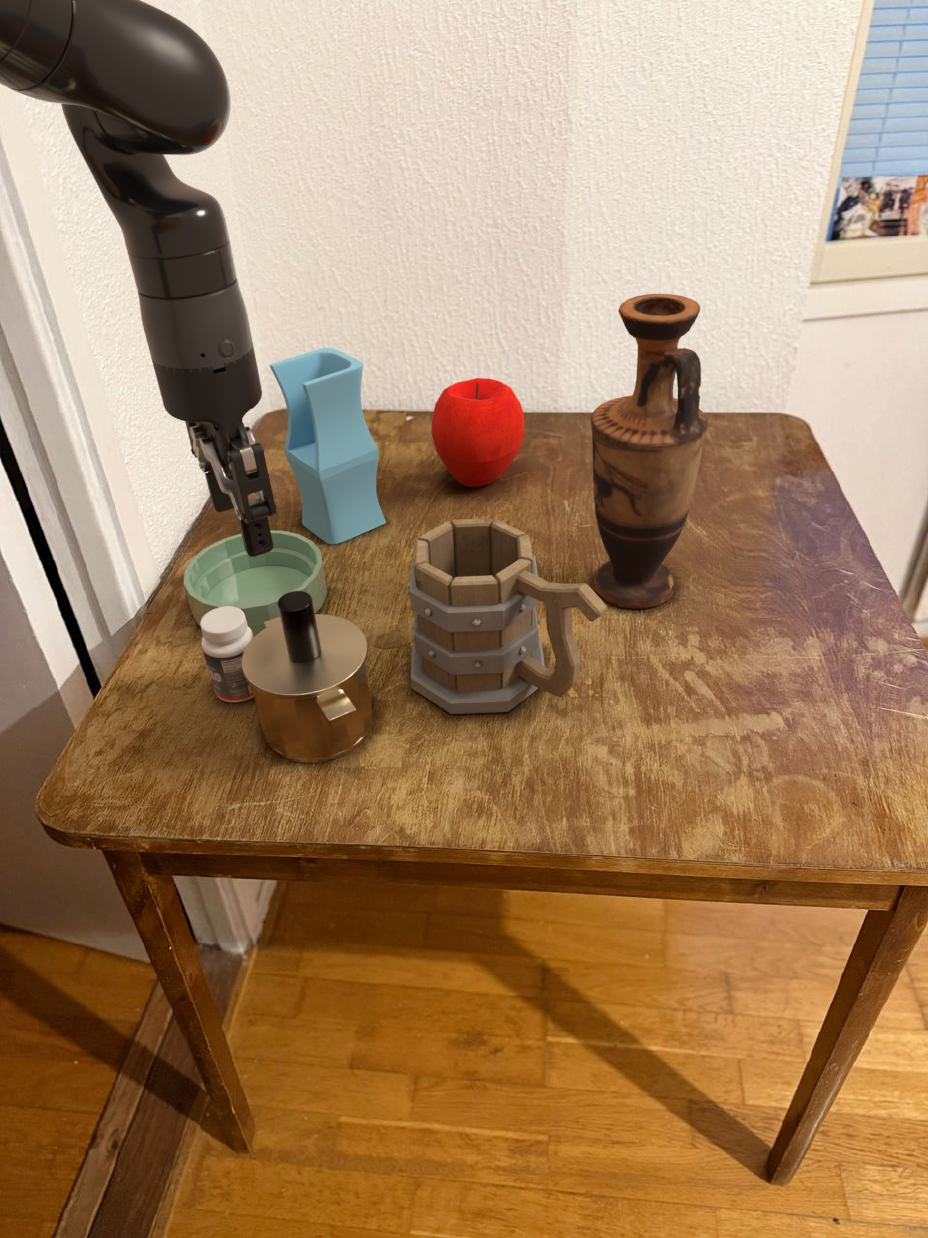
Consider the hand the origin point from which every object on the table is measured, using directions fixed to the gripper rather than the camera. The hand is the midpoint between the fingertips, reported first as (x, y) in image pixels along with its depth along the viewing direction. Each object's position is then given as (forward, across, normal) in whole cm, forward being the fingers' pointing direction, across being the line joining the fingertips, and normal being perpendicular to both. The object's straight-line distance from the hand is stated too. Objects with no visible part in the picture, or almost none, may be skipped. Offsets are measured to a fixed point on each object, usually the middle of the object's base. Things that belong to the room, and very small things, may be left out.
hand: (243, 529), depth 76 cm
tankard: (+17, +14, +18) cm, 28 cm away
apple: (+17, -21, +36) cm, 45 cm away
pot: (+17, +9, +1) cm, 19 cm away
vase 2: (+17, +8, +38) cm, 42 cm away
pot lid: (+9, +9, +1) cm, 12 cm away
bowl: (+17, -12, +3) cm, 21 cm away
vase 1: (+17, -22, +17) cm, 33 cm away
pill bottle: (+17, 0, -4) cm, 17 cm away
